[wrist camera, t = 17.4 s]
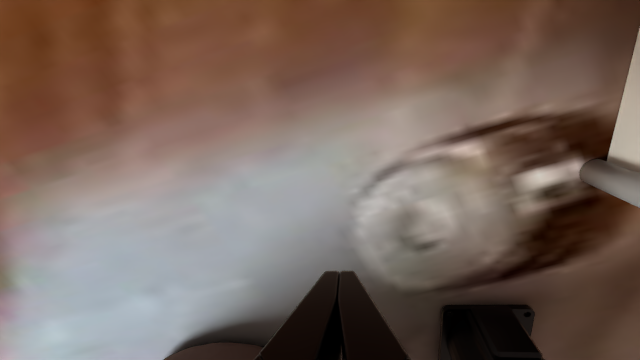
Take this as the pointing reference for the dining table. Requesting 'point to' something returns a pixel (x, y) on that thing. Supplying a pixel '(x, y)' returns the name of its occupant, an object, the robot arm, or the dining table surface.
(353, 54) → the dining table surface
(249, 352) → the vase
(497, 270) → the dining table surface
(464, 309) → the robot arm
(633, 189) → the frame
